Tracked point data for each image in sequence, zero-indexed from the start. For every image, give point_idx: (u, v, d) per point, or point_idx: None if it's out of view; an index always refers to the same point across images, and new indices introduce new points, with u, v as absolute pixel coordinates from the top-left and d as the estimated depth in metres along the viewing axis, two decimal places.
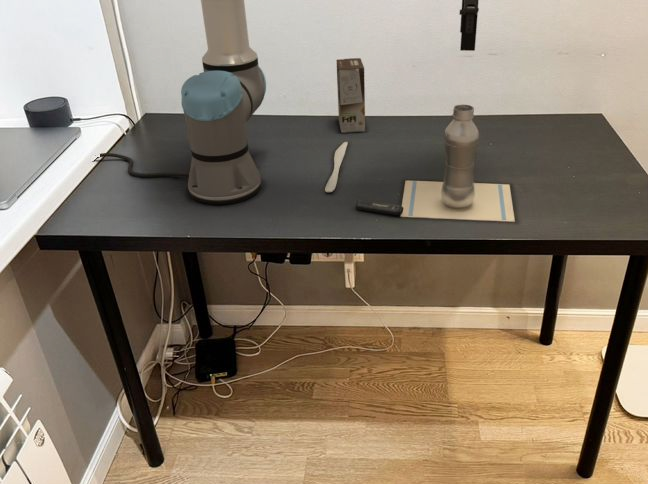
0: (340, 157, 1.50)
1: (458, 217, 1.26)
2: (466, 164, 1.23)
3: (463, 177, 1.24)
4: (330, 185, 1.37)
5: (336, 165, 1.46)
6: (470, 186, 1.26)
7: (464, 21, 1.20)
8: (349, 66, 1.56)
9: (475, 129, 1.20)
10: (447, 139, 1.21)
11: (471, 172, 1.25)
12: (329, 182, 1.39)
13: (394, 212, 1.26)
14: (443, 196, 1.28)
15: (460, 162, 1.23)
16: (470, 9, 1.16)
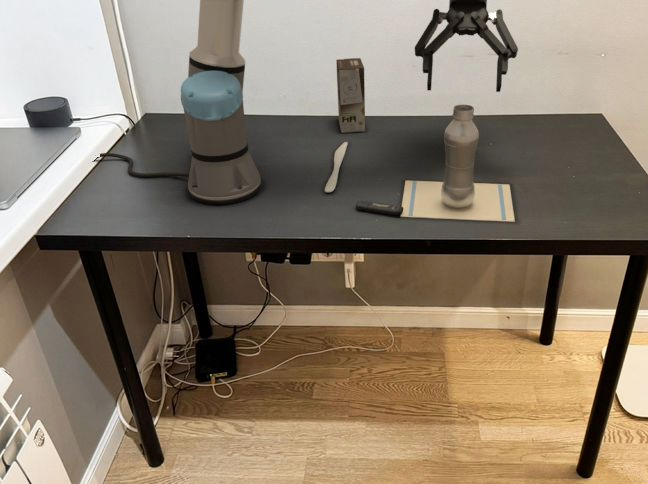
0: (340, 157, 1.50)
1: (458, 217, 1.26)
2: (466, 164, 1.23)
3: (463, 177, 1.24)
4: (330, 185, 1.37)
5: (336, 165, 1.46)
6: (470, 186, 1.26)
7: None
8: (349, 66, 1.56)
9: (475, 129, 1.20)
10: (447, 139, 1.21)
11: (471, 172, 1.25)
12: (329, 182, 1.39)
13: (394, 212, 1.26)
14: (443, 196, 1.28)
15: (460, 162, 1.23)
16: (415, 50, 1.31)
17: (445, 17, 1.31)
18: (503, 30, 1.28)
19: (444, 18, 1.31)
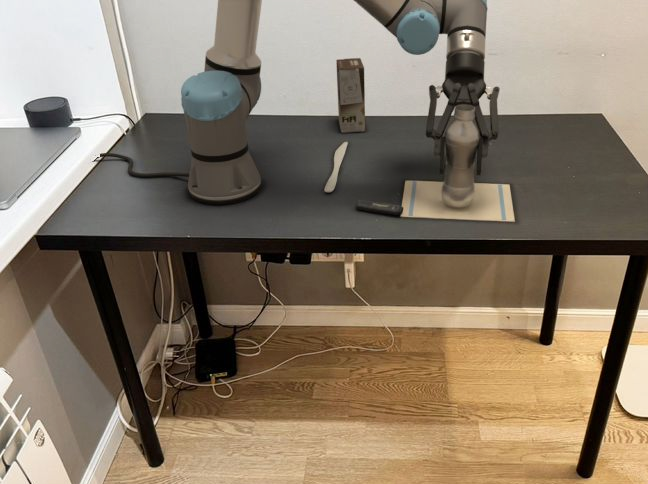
0: (340, 157, 1.50)
1: (458, 217, 1.26)
2: (467, 164, 1.23)
3: (463, 177, 1.24)
4: (330, 185, 1.37)
5: (336, 165, 1.46)
6: (470, 186, 1.26)
7: None
8: (349, 66, 1.56)
9: (476, 129, 1.20)
10: (448, 139, 1.21)
11: (471, 172, 1.25)
12: (329, 182, 1.39)
13: (394, 212, 1.26)
14: (443, 196, 1.28)
15: (460, 162, 1.22)
16: (426, 132, 1.25)
17: (442, 90, 1.26)
18: (492, 109, 1.23)
19: (441, 91, 1.26)
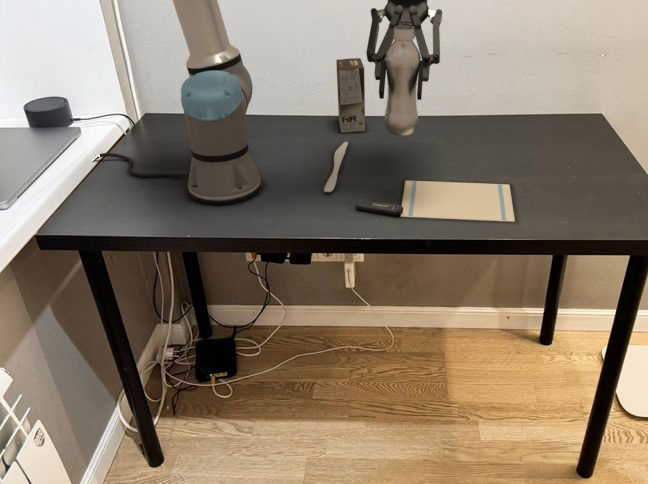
0: (340, 157, 1.50)
1: (458, 217, 1.26)
2: (407, 88, 1.20)
3: (404, 102, 1.21)
4: (329, 185, 1.37)
5: (336, 165, 1.46)
6: (412, 113, 1.23)
7: None
8: (349, 66, 1.56)
9: (416, 50, 1.17)
10: (387, 61, 1.18)
11: (413, 97, 1.22)
12: (328, 182, 1.39)
13: (394, 212, 1.26)
14: (385, 123, 1.25)
15: (401, 86, 1.19)
16: (367, 56, 1.22)
17: (384, 13, 1.23)
18: (434, 31, 1.20)
19: (383, 15, 1.23)
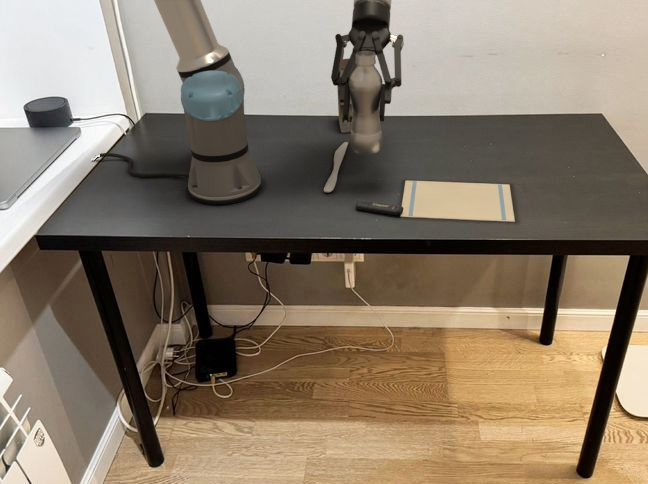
0: (340, 157, 1.50)
1: (458, 217, 1.26)
2: (370, 110, 1.26)
3: (368, 123, 1.27)
4: (329, 185, 1.37)
5: (336, 165, 1.46)
6: (376, 133, 1.29)
7: None
8: None
9: (377, 75, 1.23)
10: (350, 85, 1.24)
11: (376, 119, 1.27)
12: (328, 182, 1.39)
13: (394, 212, 1.26)
14: (351, 143, 1.31)
15: (364, 108, 1.25)
16: (332, 80, 1.28)
17: (348, 39, 1.29)
18: (395, 56, 1.26)
19: (348, 40, 1.29)
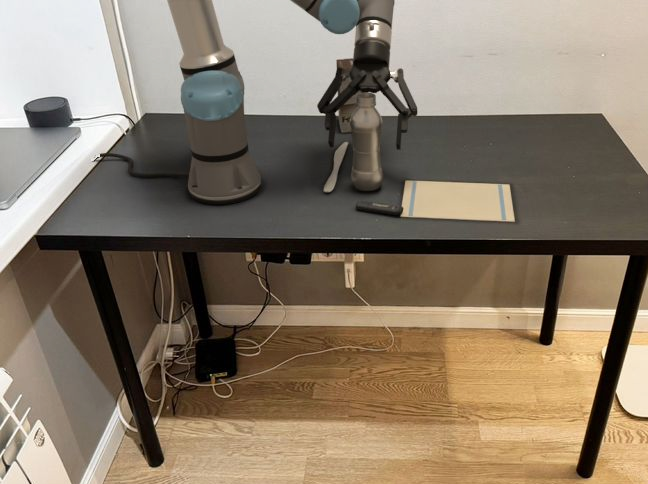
0: (340, 157, 1.50)
1: (458, 217, 1.26)
2: (371, 149, 1.30)
3: (369, 162, 1.31)
4: (329, 185, 1.37)
5: (335, 165, 1.46)
6: (376, 170, 1.33)
7: None
8: (349, 66, 1.56)
9: (378, 116, 1.27)
10: (352, 125, 1.28)
11: (377, 157, 1.32)
12: (328, 182, 1.39)
13: (394, 212, 1.26)
14: (352, 180, 1.35)
15: (364, 147, 1.30)
16: None
17: (348, 75, 1.33)
18: (403, 89, 1.30)
19: (347, 76, 1.33)
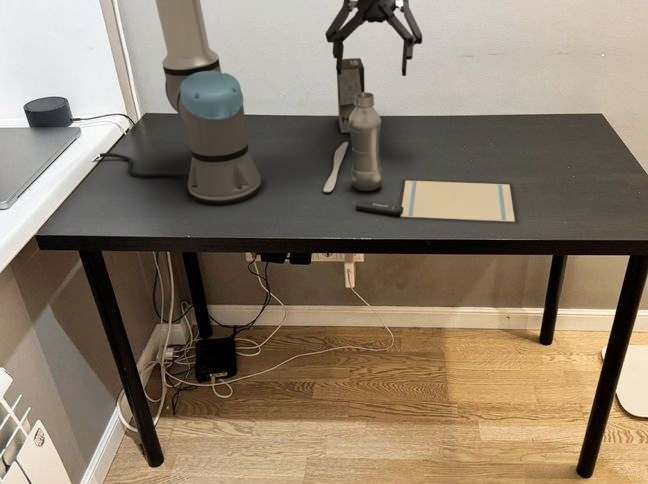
0: (340, 157, 1.50)
1: (458, 217, 1.26)
2: (370, 149, 1.30)
3: (368, 161, 1.31)
4: (329, 185, 1.37)
5: (335, 165, 1.46)
6: (376, 170, 1.33)
7: None
8: (349, 66, 1.56)
9: (376, 115, 1.27)
10: (350, 125, 1.28)
11: (376, 156, 1.32)
12: (328, 182, 1.39)
13: (394, 212, 1.26)
14: (352, 180, 1.35)
15: (363, 147, 1.30)
16: None
17: (355, 5, 1.37)
18: (409, 17, 1.34)
19: (354, 6, 1.38)
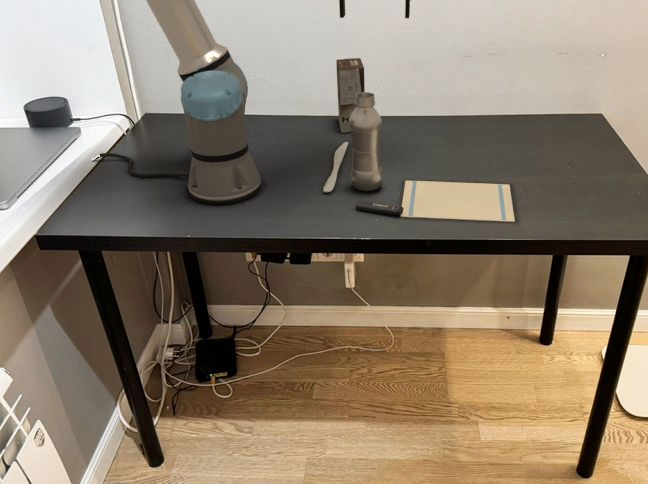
0: (340, 157, 1.50)
1: (458, 217, 1.26)
2: (370, 149, 1.30)
3: (368, 161, 1.31)
4: (329, 185, 1.37)
5: (335, 165, 1.46)
6: (376, 170, 1.33)
7: None
8: (349, 66, 1.56)
9: (376, 115, 1.28)
10: (351, 125, 1.28)
11: (376, 156, 1.32)
12: (328, 182, 1.39)
13: (394, 212, 1.26)
14: (352, 180, 1.35)
15: (364, 147, 1.30)
16: None
17: None
18: None
19: None
